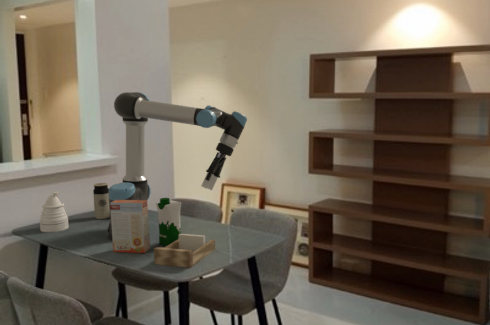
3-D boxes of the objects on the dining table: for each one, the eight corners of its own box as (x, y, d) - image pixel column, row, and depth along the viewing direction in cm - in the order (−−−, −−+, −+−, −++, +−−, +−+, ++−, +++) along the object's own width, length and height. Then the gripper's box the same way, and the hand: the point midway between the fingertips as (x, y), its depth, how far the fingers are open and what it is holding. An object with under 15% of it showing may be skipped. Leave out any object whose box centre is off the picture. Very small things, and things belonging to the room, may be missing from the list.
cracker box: (150, 249, 205) (148, 199, 202) (144, 253, 199) (141, 202, 196) (119, 247, 208) (116, 198, 205) (112, 252, 202) (109, 202, 199)
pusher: (179, 250, 201) (178, 234, 200) (180, 249, 202) (180, 233, 201) (204, 253, 197) (203, 236, 196) (205, 251, 198) (204, 235, 197)
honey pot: (73, 225, 248) (70, 189, 245) (61, 232, 235) (58, 194, 233) (48, 225, 249) (45, 189, 247) (35, 232, 236) (32, 195, 234)
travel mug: (96, 216, 265) (94, 183, 263) (111, 215, 266) (109, 182, 264) (93, 219, 258) (91, 185, 255) (109, 218, 258) (107, 184, 256)
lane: (154, 264, 186) (153, 248, 185) (182, 246, 208) (181, 232, 207) (190, 267, 181) (189, 251, 180) (215, 249, 202) (214, 234, 202)
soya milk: (156, 244, 211) (153, 198, 209) (172, 239, 218) (170, 194, 215) (168, 248, 205) (166, 200, 203) (185, 243, 212) (183, 197, 209)
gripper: (230, 144, 209) (209, 190, 208) (237, 152, 234) (218, 193, 233) (214, 137, 210) (193, 182, 209) (222, 145, 235) (203, 186, 234)
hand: (206, 188), depth 221 cm, fingers open, 13 cm apart
